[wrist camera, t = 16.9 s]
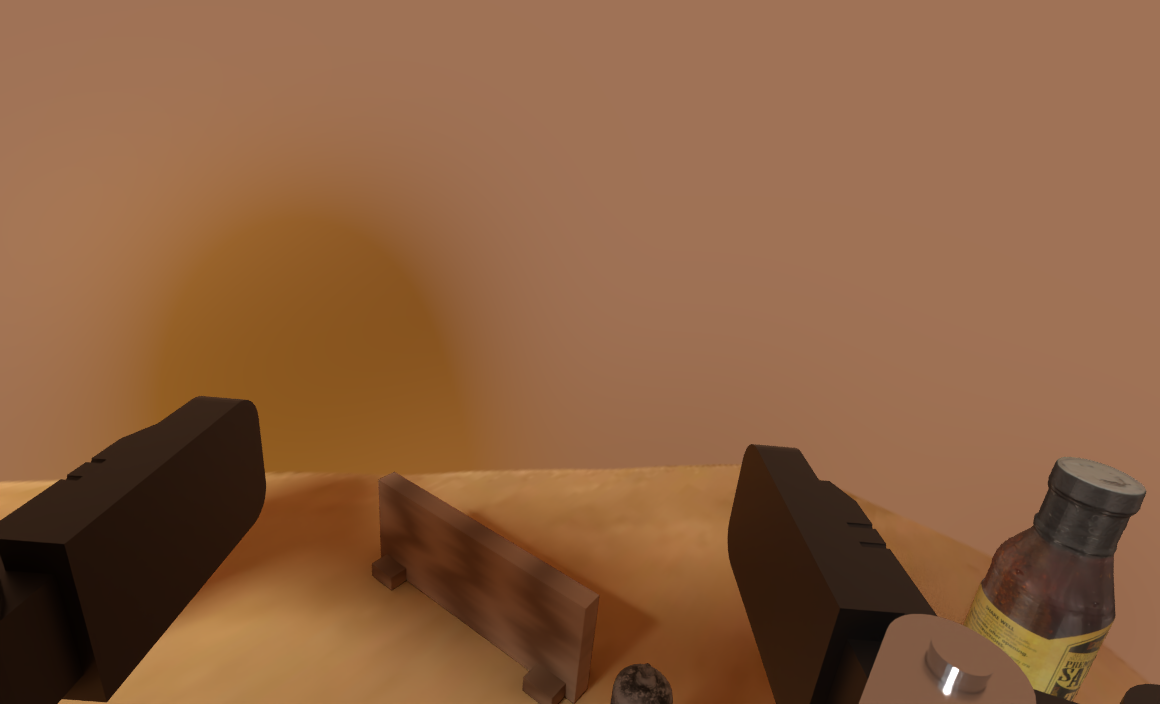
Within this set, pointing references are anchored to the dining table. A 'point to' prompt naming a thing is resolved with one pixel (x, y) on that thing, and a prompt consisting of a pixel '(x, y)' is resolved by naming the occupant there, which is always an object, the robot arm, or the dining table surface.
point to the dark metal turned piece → (641, 686)
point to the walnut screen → (489, 587)
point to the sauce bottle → (1059, 577)
